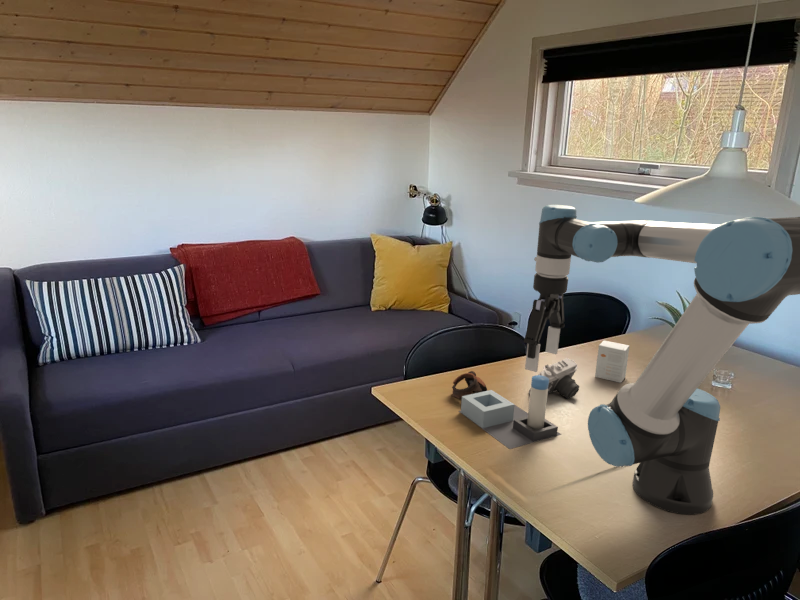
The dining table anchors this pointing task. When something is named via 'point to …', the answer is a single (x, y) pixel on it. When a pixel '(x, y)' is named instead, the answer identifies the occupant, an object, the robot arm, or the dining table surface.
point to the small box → (612, 361)
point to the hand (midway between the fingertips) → (541, 361)
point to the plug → (537, 402)
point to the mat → (510, 431)
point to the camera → (561, 377)
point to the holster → (535, 435)
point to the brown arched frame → (472, 382)
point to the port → (487, 408)
